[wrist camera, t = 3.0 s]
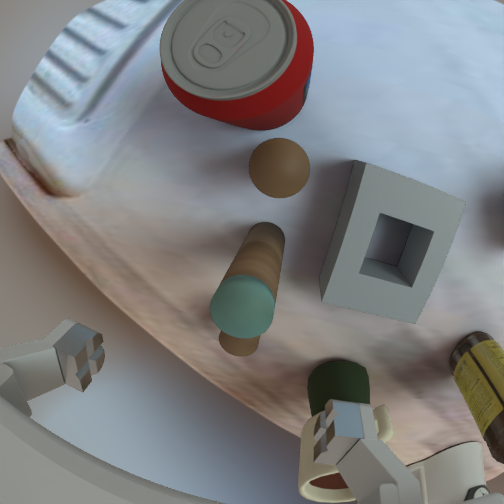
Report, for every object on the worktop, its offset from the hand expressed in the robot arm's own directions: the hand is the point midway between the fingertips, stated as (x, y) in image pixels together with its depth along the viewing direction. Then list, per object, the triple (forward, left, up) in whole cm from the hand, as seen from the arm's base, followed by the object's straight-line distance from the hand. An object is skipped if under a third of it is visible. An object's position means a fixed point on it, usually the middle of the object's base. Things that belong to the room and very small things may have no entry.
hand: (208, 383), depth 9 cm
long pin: (0, 0, -16) cm, 16 cm away
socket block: (+3, -9, -16) cm, 19 cm away
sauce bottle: (-6, -25, -16) cm, 31 cm away
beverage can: (+11, +3, -16) cm, 20 cm away
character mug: (-12, -11, -16) cm, 23 cm away
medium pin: (+6, 0, -16) cm, 17 cm away
